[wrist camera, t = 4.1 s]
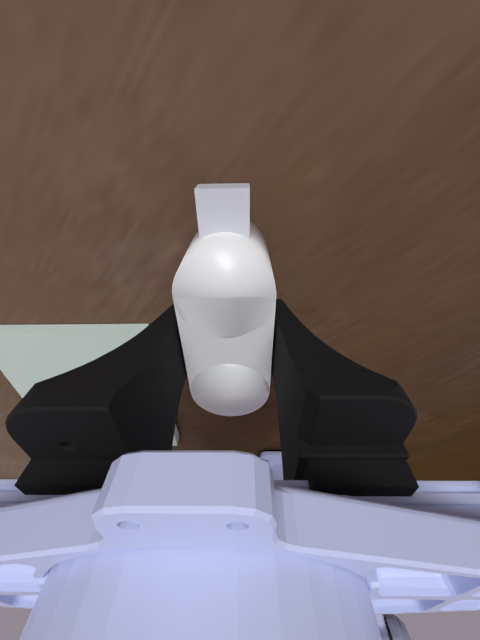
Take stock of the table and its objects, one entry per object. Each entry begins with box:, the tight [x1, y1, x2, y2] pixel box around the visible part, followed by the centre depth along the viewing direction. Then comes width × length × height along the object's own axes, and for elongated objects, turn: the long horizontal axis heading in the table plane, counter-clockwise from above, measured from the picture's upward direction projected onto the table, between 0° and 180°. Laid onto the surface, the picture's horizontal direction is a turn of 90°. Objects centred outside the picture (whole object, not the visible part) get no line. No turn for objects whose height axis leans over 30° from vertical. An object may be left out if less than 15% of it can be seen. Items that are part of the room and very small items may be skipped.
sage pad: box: [0, 324, 179, 446], centre depth 19 cm, size 12×10×1 cm
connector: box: [172, 183, 276, 416], centre depth 12 cm, size 10×4×4 cm, turn 1°
